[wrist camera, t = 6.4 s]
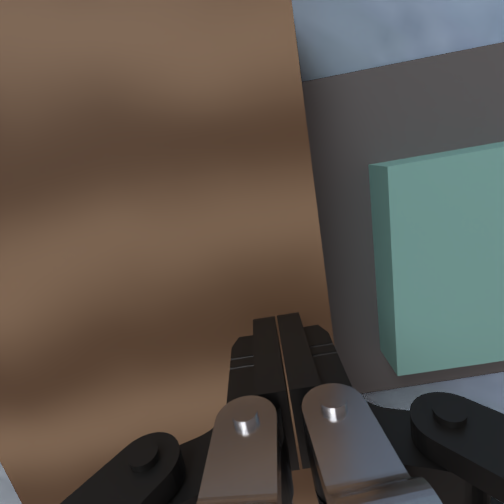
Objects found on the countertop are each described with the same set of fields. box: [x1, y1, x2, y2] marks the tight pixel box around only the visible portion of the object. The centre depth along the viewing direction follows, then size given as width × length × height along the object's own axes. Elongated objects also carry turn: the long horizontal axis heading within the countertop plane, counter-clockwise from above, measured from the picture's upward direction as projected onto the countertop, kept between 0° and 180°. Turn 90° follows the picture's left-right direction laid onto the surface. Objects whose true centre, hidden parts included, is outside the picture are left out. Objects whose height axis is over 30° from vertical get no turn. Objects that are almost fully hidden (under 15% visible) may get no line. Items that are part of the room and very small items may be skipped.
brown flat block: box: [0, 0, 334, 504], centre depth 14 cm, size 22×14×4 cm, turn 10°
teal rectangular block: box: [368, 141, 504, 376], centre depth 14 cm, size 9×6×2 cm, turn 10°
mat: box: [302, 42, 504, 394], centre depth 15 cm, size 15×9×1 cm, turn 10°
